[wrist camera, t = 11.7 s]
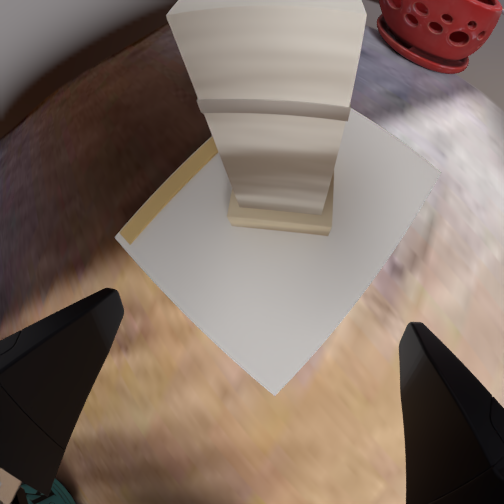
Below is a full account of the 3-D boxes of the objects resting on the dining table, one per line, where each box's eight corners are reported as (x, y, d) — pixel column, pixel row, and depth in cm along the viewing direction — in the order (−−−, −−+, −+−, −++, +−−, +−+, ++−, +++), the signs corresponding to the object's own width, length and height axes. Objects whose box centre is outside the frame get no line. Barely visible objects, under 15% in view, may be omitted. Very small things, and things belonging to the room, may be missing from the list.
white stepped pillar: (328, 236, 16) (399, 33, 4) (231, 225, 17) (133, 33, 5) (331, 154, 18) (361, -37, 5) (246, 147, 18) (200, -38, 6)
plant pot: (355, 15, 25) (362, -61, 14) (442, 32, 24) (462, -31, 12) (387, 76, 22) (414, -25, 10) (485, 97, 20) (527, 25, 9)
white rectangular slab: (275, 388, 16) (274, 396, 14) (128, 245, 20) (112, 236, 18) (430, 185, 18) (442, 170, 16) (287, 90, 22) (286, 72, 20)
